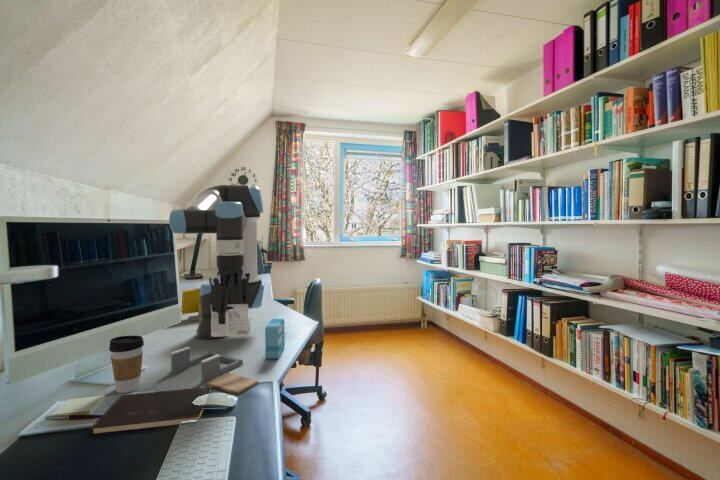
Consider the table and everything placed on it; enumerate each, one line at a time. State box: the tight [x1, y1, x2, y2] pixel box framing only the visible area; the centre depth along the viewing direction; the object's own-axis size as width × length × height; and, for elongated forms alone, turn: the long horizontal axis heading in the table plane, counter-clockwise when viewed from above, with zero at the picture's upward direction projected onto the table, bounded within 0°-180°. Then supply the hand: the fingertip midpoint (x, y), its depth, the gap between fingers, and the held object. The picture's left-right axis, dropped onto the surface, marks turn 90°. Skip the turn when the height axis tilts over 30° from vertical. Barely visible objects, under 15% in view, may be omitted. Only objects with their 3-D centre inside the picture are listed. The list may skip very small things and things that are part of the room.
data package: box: [264, 318, 286, 360], centre depth 129 cm, size 12×4×12 cm, turn 1°
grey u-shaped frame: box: [169, 346, 244, 383], centre depth 117 cm, size 16×16×6 cm
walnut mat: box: [205, 371, 259, 395], centre depth 105 cm, size 13×8×1 cm, turn 63°
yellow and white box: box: [180, 287, 201, 322], centre depth 178 cm, size 20×8×16 cm, turn 130°
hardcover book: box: [90, 386, 213, 434], centre depth 90 cm, size 16×23×2 cm
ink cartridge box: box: [211, 304, 251, 338], centre depth 104 cm, size 2×11×10 cm, turn 93°
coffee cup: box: [108, 335, 145, 394], centre depth 102 cm, size 8×8×15 cm
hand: (231, 331), depth 104 cm, fingers closed on ink cartridge box, 4 cm apart
